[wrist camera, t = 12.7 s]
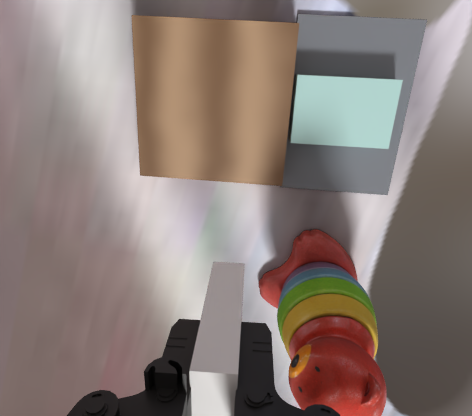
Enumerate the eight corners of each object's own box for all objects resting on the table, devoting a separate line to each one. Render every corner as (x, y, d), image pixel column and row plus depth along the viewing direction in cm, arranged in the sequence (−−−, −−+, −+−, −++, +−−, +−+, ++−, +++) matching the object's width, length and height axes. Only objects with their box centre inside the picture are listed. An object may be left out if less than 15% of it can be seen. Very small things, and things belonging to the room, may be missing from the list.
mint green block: (289, 139, 35) (290, 143, 33) (295, 74, 33) (297, 74, 31) (381, 144, 34) (388, 149, 32) (395, 79, 32) (402, 79, 30)
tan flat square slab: (149, 167, 38) (140, 175, 35) (143, 19, 32) (131, 15, 29) (281, 176, 37) (282, 185, 34) (296, 27, 31) (299, 23, 29)
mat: (280, 186, 37) (280, 186, 37) (297, 14, 31) (298, 13, 31) (386, 194, 36) (387, 194, 36) (425, 20, 30) (427, 19, 30)
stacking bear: (309, 220, 38) (340, 336, 22) (379, 269, 40) (458, 413, 23) (251, 287, 42) (241, 428, 26) (318, 329, 44) (348, 488, 27)
